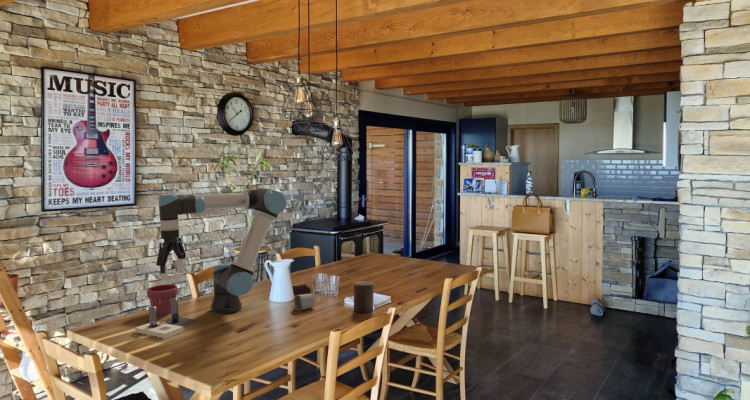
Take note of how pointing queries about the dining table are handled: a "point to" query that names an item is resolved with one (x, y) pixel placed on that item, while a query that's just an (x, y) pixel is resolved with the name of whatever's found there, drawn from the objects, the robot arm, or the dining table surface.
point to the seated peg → (153, 316)
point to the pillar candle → (363, 297)
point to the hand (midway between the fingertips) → (172, 276)
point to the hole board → (160, 330)
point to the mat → (180, 321)
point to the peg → (174, 310)
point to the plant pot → (162, 297)
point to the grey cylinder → (304, 301)
